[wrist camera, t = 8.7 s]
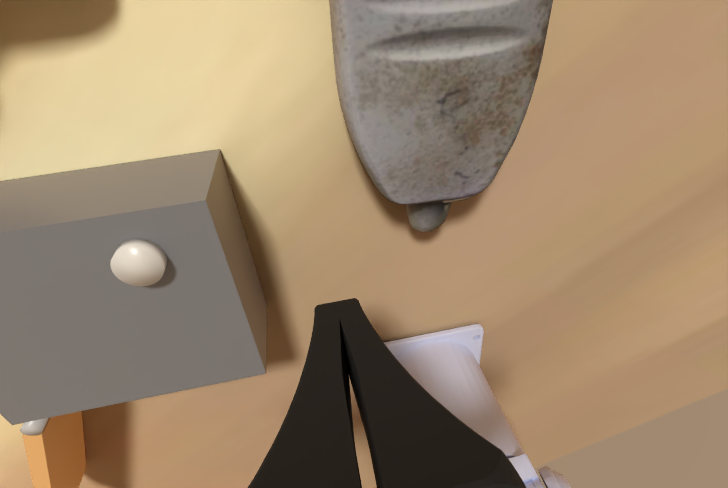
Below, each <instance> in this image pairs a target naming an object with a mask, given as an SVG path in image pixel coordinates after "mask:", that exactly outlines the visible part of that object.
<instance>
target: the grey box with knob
mask: <svg viewBox="0 0 728 488" xmlns="http://www.w3.org/2000/svg"><path fill="white" fill-rule="evenodd" d="M266 349H267V304H266V301H265V297H264V294H263V291H262V287H261V284H260V281H259V278H258V274H257V271H256V268H255V264H254V261H253V258H252V254H251V251H250V248H249V244H248V241H247V238H246V234H245V231H244V228H243V225H242V221H241V218H240V215H239V211H238V208H237V205H236V201H235V198H234V195H233V191H232V188H231V185H230V181H229V178H228V175H227V172H226V168H225V165H224V162H223V158H222V155H221V152H220V149H218V150H211V151H205V152H198V153H191V154H184V155H177V156H170V157H163V158H157V159H150V160H143V161H136V162H129V163H122V164H115V165H109V166H102V167H95V168H88V169H81V170H74V171H67V172H61V173H54V174H47V175H40V176H33V177H26V178H19V179H13V180H6V181H0V414H1V415H2V416H3V417H4V418H5V419H6V420H7V421H8V422H10V423H11V424H12V425H15V424H20V423H25V422H30V421H35V420H40V419H45V418H50V417H54V416H59V415H64V414H69V413H74V412H79V411H84V410H89V409H94V408H99V407H104V406H109V405H114V404H119V403H123V402H128V401H133V400H138V399H143V398H148V397H153V396H158V395H163V394H168V393H173V392H178V391H183V390H188V389H192V388H197V387H202V386H207V385H212V384H217V383H222V382H227V381H232V380H237V379H242V378H247V377H252V376H257V375H262V374H266Z"/></svg>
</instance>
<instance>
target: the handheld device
mask: <svg viewBox="0 0 728 488" xmlns="http://www.w3.org/2000/svg"><path fill="white" fill-rule="evenodd" d="M552 2H553V0H329V4H330V16H331V28H332V42H333V54H334V65H335V75H336V83H337V89H338V95H339V100H340V104H341V109H342V112H343V116H344V119H345V122H346V126H347V129H348V132H349V134H350V137H351V140H352V142H353V145H354V147H355V149H356V151H357V153H358V155H359V158H360V160H361V162H362V164H363V166H364V168H365V169H366V171H367V173H368V175H369V177H370V178H371V180H372V182H373V183H374V185H375V186H376V188H377V189H378V191H379V192H380V193H381V194H382V195H383V196H384V197H385V198H387V199H388V200H389V201H392V202H394V203H397V204H406V209H407V216H408V219H409V223H410V225H411V226H412V228H414V229H416V230H418V231H420V232H429V231H432V230H434V229H436V228H438V227H439V226H440V225H441V224H442V223H443V222H444V220H445V218H446V216H447V213H448V211H449V208H450V205H451V203H452V202H456V201H460V200H464V199H467V198H470V197H473V196H475V195H477V194H478V193H480V192H481V191H483V190H484V189H485V188H487V187H488V186H489V185H490V184H491V183H492V181H493V179H494V178H495V176H496V174H497V172H498V170H499V169H500V167H501V165H502V163H503V161H504V159H505V158H506V156H507V154H508V152H509V150H510V149H511V147H512V145H513V143H514V141H515V139H516V137H517V134H518V132H519V129H520V127H521V124H522V122H523V119H524V117H525V114H526V111H527V109H528V106H529V103H530V100H531V97H532V93H533V90H534V86H535V83H536V80H537V76H538V72H539V68H540V63H541V59H542V55H543V49H544V44H545V39H546V34H547V29H548V24H549V18H550V13H551V8H552Z"/></svg>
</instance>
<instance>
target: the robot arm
mask: <svg viewBox="0 0 728 488" xmlns="http://www.w3.org/2000/svg"><path fill="white" fill-rule="evenodd" d="M483 332H484V330H483V328H482V326H481V325H480V324H474V325H469V326H464V327H459V328H454V329H449V330H444V331H439V332H434V333H429V334H424V335H419V336H414V337H409V338H404V339H399V340H394V341H389V342H383V341H382V340H381V338H380V337H379V335H378V334H377V333H376V331H375V330H374V328H373V327H372V325H371V323H370V322H369V320H368V319H367V317H366V315H365V313H364V312H363V310H362V308H361V306H360V303H359V301H358V300H357V299H355V298H353V299H348V300H342V301H337V302H332V303H326V304H321V305H317V306H316V307H315V316H314V326H313V332H312V337H311V342H310V346H309V350H308V354H307V358H306V362H305V365H304V369H303V372H302V375H301V378H300V381H299V384H298V387H297V390H296V393H295V395H294V398H293V401H292V403H291V405H290V408H289V410H288V413H287V415H286V417H285V419H284V422H283V424H282V426H281V428H280V430H279V432H278V435H277V437H276V439H275V441H274V443H273V445H272V446H271V448H270V450H269V452H268V454H267V456H266V457H265V459H264V461H263V463H262V465H261V467H260V468H259V470H258V472H257V474H256V475H255V477H254V479H253V480H252V482H251V484H250V485H249V487H248V488H362V485H361V480H360V474H359V468H358V462H357V456H356V450H355V442H354V431H353V420H352V408H351V396H350V385H349V377H350V380H351V384H352V387H353V391H354V394H355V398H356V401H357V405H358V408H359V412H360V415H361V419H362V422H363V426H364V429H365V433H366V436H367V440H368V445H369V449H370V454H371V459H372V464H373V469H374V474H375V479H376V485H377V488H544V487H543V485H542V483H541V481H540V479H539V477H538V475H537V474H536V472H535V470H534V468H533V466H532V464H531V462H530V460H529V458H528V456H527V454H524V452H523V450H522V448H521V446H520V444H519V443H518V441H517V439H516V437H515V435H514V433H513V431H512V429H511V427H510V425H509V423H508V421H507V419H506V417H505V415H504V413H503V411H502V409H501V407H500V405H499V404H498V402H497V400H496V398H495V396H494V394H493V392H492V390H491V388H490V386H489V384H488V382H487V380H486V378H485V376H484V374H483V372H482V370H481V368H480V366H479V364H480V356H481V348H482V340H483ZM538 471H539V473H540V476H541V477H542V479H543V482H544V484H545V486H546V488H571V487H570V485H569V484H568V482H567V481H566V479H565V478H564V476H563V475H562V474H560V473H558V472H556V471H552V470H551V469H550V468H549V467H547V466H546V467H543V468H541V469H538Z"/></svg>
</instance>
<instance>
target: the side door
mask: <svg viewBox="0 0 728 488" xmlns="http://www.w3.org/2000/svg"><path fill="white" fill-rule="evenodd" d="M20 431H21V432H22V433H23V439H24V444H25V449H26V454H27V458H28V463H29V468H30V473H31V477H32V482H33V487H34V488H79V485H80V482H81V480H82V477H83V474H84V472H85V469H86V456H85V444H84V432H83V421H82V411H79V412H74V413H69V414H64V415H59V416H54V417H50V418H45V419H40V420H35V421H30V422H25V423H23V425H22V427H21V429H20Z"/></svg>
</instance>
